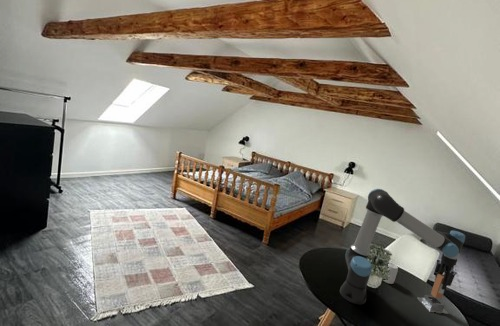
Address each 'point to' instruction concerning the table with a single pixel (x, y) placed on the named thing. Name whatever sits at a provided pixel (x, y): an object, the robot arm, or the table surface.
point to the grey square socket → (432, 304)
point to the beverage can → (392, 273)
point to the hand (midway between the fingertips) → (437, 290)
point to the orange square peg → (437, 286)
